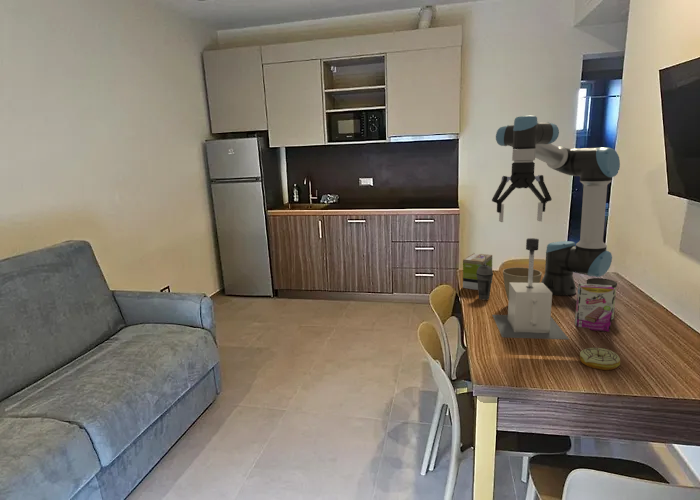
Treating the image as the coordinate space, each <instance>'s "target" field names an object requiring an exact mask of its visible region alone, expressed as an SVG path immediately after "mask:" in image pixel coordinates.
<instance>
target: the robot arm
mask: <svg viewBox="0 0 700 500" xmlns="http://www.w3.org/2000/svg"><path fill="white" fill-rule="evenodd" d="M513 121H514V122H513V124H511V125H509V124H507V125H504V126H503V125H502V126H500V127H499V128H498V129H497V130H496V134H495V140H496V141H495V142H496V143H497V144H498V145H499V146H501V147H511V148H512V157H511V161H513V162H512V163H511V173H510V174H511V175H510V176H507V175H503V176H501V181H500V184H499V186H498V187H497V190H496V191H495V193H494V195H493V197H492V199H491V202H493V203H496V213H498V214H499V215H498V222H500V223H504V211H505V210H504V209H505V204H504V203H503V202H504V201H505V200H506V199H507V198H508V197H509V195H511V193H512V192H513V191H514V190H515V189H530V191H531V192H532V193H533V194H534V196H535V197H536V198H537V199H538V200H539V201H540V202H538V203H537V214H536V215H537V216H536V220H537V222H543V212H546V204H547V203H548V202H551V201H552V196H551V194H550V192H549V190H548V188H547V185H546V184H545V180H544V175H542V174H538V175H535V168H536V167H535V162H534V161H535V160H536V159H537V160H540V161H541V162H543V163H545V164H546V165H547V167H548V168H550V169H552V170H554V171H557V172H559V173H562V174H565V175H567V176H572V177H579V182H580V183H581V184H582V185H583V191H582V205H581V206H582V207H581V221H580V222H581V223H580V235H579V236H580V238H579V239H580V240H579V241H578V242H577V243H576V242H575V241H568V240H567V241H565V240H564V241H555V242H549V243H548V244H547V245H546V250H545V265H544V266H545V267H544V275H543V278H542V279H541V280H540V283H544V285H545V286H546V287H547V288H548V289H549V290H550V291H551V292H552V296H553V295H554V296H572V295H575V294H576V293H577V286H576V282H575V280H574V276H573V275H574V274H580V275H585V276H588V277H593V278H600V277H602V276H604V275H605V274H606V273H607V272H608V271H609V269H610V268H611V265H612V260H613V255H612V252H610V251H609V250H607V247H608V245H607V244H606V243H605V242H604V234H605V232H604V231H605V219H606V209H607V208H606V206H607V205H606V204H607V193H608V185H609V184H610V183H611V182H613V178H614V177H616V176H617V175H618V173H619V170H620V167H621V162H620V156H619V154H618V152H617V151H616V149H614V148H611V147H602V146H600V147H583V148H579V147H578V148H566V147H564V146H561V145H560V146H559V145H558V146H556V145H554V142H556V141H557V139H558V138H559V135H560V131H559V130H560V129H559V127H558V126H557V124H555V123H553V122H549V121H547V122H539V121H538V117H537V115H523V116H521V115H520V116H516V117H515V118H514V120H513ZM509 181H510V182H511V184H510V185H509V186H508V188H507V189H506V190H505V191H504V189H505V187H506V185H507V183H509ZM535 181H536V182H538V183H537V184H538V185H539V187H540V190H541V192H542V194H543V195H542V194H541V192H540V191H539V190H538V188H536V186H535V184H533V183H534V182H535ZM503 191H504V192H503Z"/></svg>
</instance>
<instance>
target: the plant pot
mask: <svg viewBox="0 0 700 500" xmlns="http://www.w3.org/2000/svg"><path fill="white" fill-rule="evenodd" d="M528 270H529V267H508V268H504V269H502V275H503V283H504V289H505V293H506V298H507V301H508V302H509V282H517V283H528ZM542 273H543V272H542V271H540V270H538V269H534V268H533V283H541V280H542V279H541V278H542Z"/></svg>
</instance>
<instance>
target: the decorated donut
mask: <svg viewBox="0 0 700 500" xmlns="http://www.w3.org/2000/svg"><path fill="white" fill-rule="evenodd" d="M579 361H580V362H581V363H582V364H583V365H585V366H586V367H590V368H591V369H597V370H603V371H611V370H615V369H617V368H618V367H619V366H620V365H621V359H620V356H619V355H618V354H617V353H616V352H614V351H612V350H610V349H607V348H604V347H603V348H602V347H588V348H584V349H582V350H581V351H580V352H579Z"/></svg>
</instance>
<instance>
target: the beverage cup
mask: <svg viewBox="0 0 700 500" xmlns="http://www.w3.org/2000/svg"><path fill="white" fill-rule="evenodd" d="M476 274H477V280H478V290H477V295H478V299H479V300H480V301H481V300H483V301H488V300H490V296H491V287H492V283H491V281H492V282H493V276H494V271H493V267H492V268H491V267H490V266H488V265H486V256H485V265H481V266H480V267H479V268H478V269H477V273H476Z"/></svg>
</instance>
